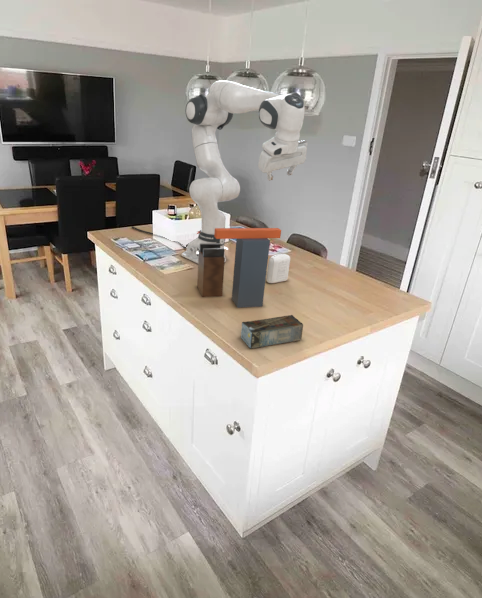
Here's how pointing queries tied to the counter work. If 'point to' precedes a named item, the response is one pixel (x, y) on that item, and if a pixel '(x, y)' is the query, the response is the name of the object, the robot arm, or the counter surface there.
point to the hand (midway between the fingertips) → (279, 177)
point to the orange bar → (246, 233)
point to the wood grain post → (210, 269)
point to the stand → (250, 272)
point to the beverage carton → (271, 331)
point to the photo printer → (278, 268)
